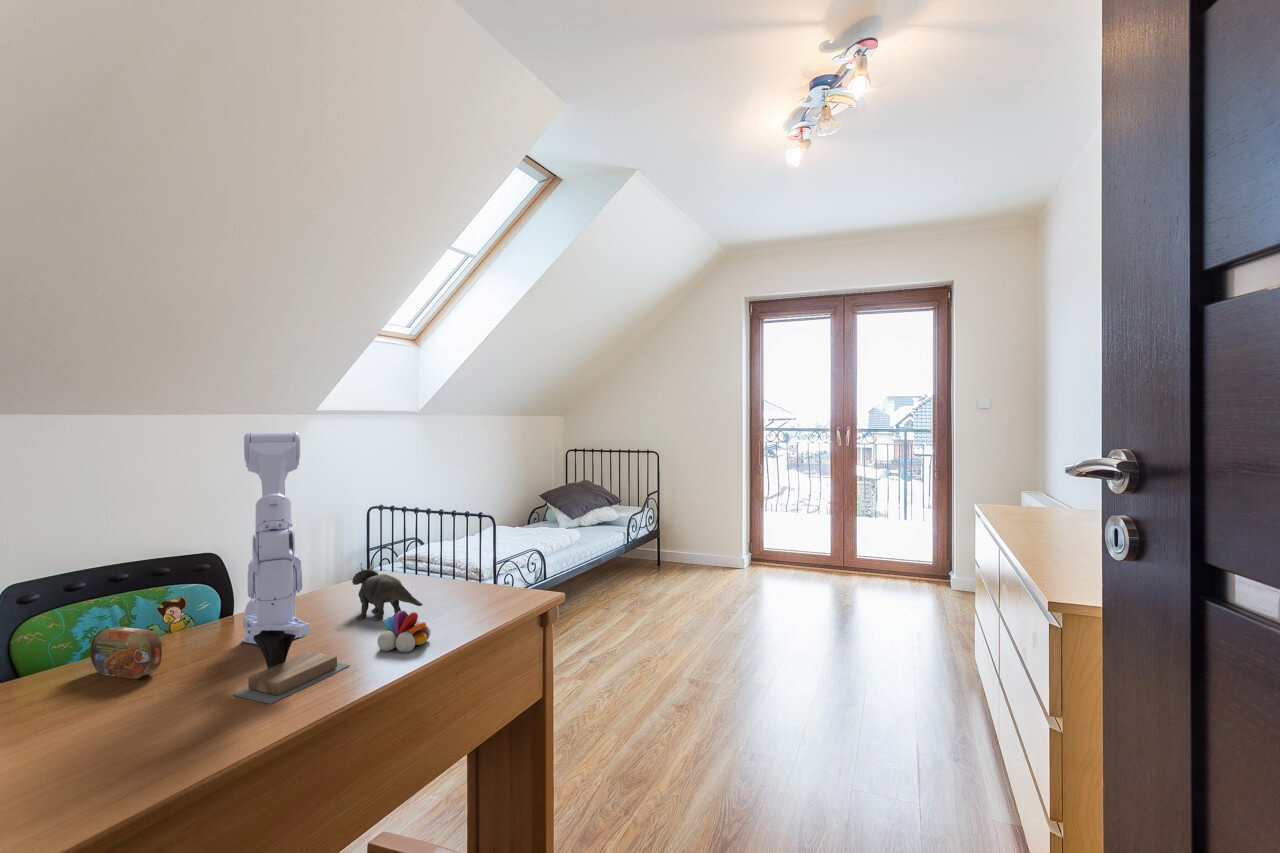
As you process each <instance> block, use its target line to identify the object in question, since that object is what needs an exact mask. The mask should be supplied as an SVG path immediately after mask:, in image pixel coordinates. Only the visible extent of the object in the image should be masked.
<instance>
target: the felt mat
mask: <svg viewBox="0 0 1280 853" xmlns="http://www.w3.org/2000/svg"><path fill="white" fill-rule="evenodd" d="M350 666H351V665H350V664H346V663H341V662H337V667H336V668H334V669H332V670H330V671H328V672H326V673H324V674H322V675H320V676H318V677H315V678H313V679H311V680H309V681H307V682H305V683H303V684H301V685H298V686H296V687H294V688H292V689H290V690H288V691H286V692H284V693H281V694H279V695H275V694H271V693H266V692H262V691H258V690H253V689H249V686H248V687H245V688H244V689H241V690H239V691H237V692H234V693H232V696H235V697H238V698H243V699H248V700H252V701H256V702H260V703H265V704H267V705H268V704H269V705H273V704H274V703H276V702H278V701H280V700H282V699H284V698H286V697H288V696H290V695H293V694H295V693H297V692H299V691H301V690H303V689H305V688H307V687H309V686H311V685H313V684H316V683H318V682H319V681H322V680H324V679H325V678H328V677H330V676H332V675H335V674H337V673H338V672H341V671H343V670H344V669H347V668H349V667H350Z"/></svg>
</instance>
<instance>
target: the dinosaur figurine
mask: <svg viewBox="0 0 1280 853" xmlns="http://www.w3.org/2000/svg"><path fill="white" fill-rule="evenodd" d="M374 565H375V562H374V560H372V561H371V565H370V567H369V569H365V568H364V567H363V562H360V566H359V568H360V571H358V572H357V573H355V574H354V575H353V576H352V577H353V578H352V580H351V583H352V585H355V586H357V585H358V586H359V585H360V584H361V586H360V589H359V590H358V597H359V600H360V603H361V607H360V608H361V610H360V611H361V613H360V614H359V615H357V616H356V618H355V619H358V620H364V619H366V618H367V616H368V615H367V613H368V609H369V604H371V605H373V606H374V608H373V609H371V611H370V612H373V613H377V615H376V616H373V617H372V620H373V621H379V620H383V619H384V615H385V610H384V609H385V608H384V607H385V604H386V603H390V605H391V607H392V608H393V613H394V614H393V615H392V616H391V617H395V615H396V614H397V612H399V611H402V609H401V607H400V602H403V603H408V604H410V605H414V606H417V607H421V606H423V605H424V604H423V603H422V602H420V601H419V600H418V599H417V598H415V597H414V596H413V595H412V594H411V592H409V590H408V589H407V588H406V587H405V586H404V584H403V583H402V582H401V580H400V579H399V578H397V577H394V576H392V575H390V574H387V573H383V574H382V573H380V574H379V573H378V572H377V571H375V570H374V567H375V566H374Z"/></svg>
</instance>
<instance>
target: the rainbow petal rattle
mask: <svg viewBox="0 0 1280 853" xmlns="http://www.w3.org/2000/svg"><path fill="white" fill-rule="evenodd" d="M418 619H419V613H417V612H415V611H414V612H411V613H409V614H408V613H407V611H405V610H401V611H399V612H397V614H396V615H395V617H392V616H388V617H386V618H385V620H384V624H383V625H384V628H385V629H384V630H383V631H381V633H380V634H379V635H378V637H377V646H378V648H379V649H380V650H381V651H384V652H389V651H393V650H394V649H395V648H396V649H397V651H399V652H400V653H409V652H412V651H413V650H414V648H415V646H417V645H422V644H425V643H426V642H427V641H428V640H429V639H430V637H431V629H430V627H429V625H428V624H427V623H426V622H425V621H422V622H419V623H417V621H418ZM416 623H417V624H416Z"/></svg>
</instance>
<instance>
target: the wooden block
mask: <svg viewBox="0 0 1280 853" xmlns="http://www.w3.org/2000/svg"><path fill="white" fill-rule="evenodd" d="M337 663H338V656H336V655H332V654H327V653H321V652H315V651H312V650H309V651H307V652H304V653H302V654H300V655H299V654H298V655H297V656H295V657H293V658H290V659H288V660H286V661H285V662H283V663H280V664H278V665H276V666H273V667H271V668H266V669H264V670H262V671H260V672H257V673H254V674H251V675H250V676H248V679H247V680H248V687H249V689H253V690H258V691H262V692H266V693H271V694H275V695H279V694H281V693H284V692H286V691H288V690H290V689H292V688H294V687H296V686H298V685H301V684H303V683H305V682H307V681H309V680H311V679H313V678H315V677H318V676H320V675H322V674H324V673H326V672H328V671H330V670H332V669H334V668H336V667H337Z"/></svg>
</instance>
